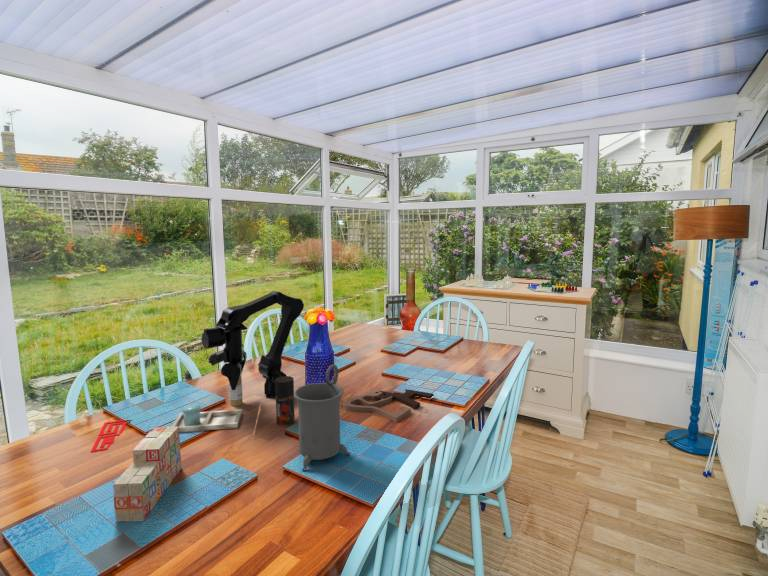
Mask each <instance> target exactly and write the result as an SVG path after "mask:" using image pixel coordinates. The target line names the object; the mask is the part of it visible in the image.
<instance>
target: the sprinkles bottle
mask: <svg viewBox="0 0 768 576" xmlns="http://www.w3.org/2000/svg"><path fill="white" fill-rule="evenodd" d="M242 376H243V371H242V372H241V375H240V377H239V380H238V383H237V386H236V389H235V390H232V389H231V386H230V383H229V382H228V384H229V385H228V386H229V387H228V389H229V401H230V402H229V405H230V406H231V407H238V406H242V405H243V384H242V383H243V381H242Z"/></svg>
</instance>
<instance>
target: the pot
mask: <svg viewBox="0 0 768 576" xmlns="http://www.w3.org/2000/svg"><path fill="white" fill-rule="evenodd" d="M181 410H182V412H183V413H184V426H193V425H199V424H200V412H201V405H200V404H198V403H197V404H196V403H193V404H187V405H185V406H183V407H182V408H181Z"/></svg>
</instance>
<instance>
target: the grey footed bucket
mask: <svg viewBox="0 0 768 576" xmlns="http://www.w3.org/2000/svg"><path fill="white" fill-rule="evenodd" d="M332 369H334V373H335V374H334V375H332V378H331V380H330V373H331V370H332ZM338 378H339V368H338V365H336V364H330V365H329V367H328V368H327V369H326V371H325V382H316V383H315V382H313V383H308V384H305V385H302V386H299V387H298V388H297V389H294V399H295V400H296V403H297V410H298V412H297V413H298V414H297V415H298V442H299V443H298V444H299V445H298V447H299V454H300V455H301V456H302V457H304V459H303V465H302V469H303V470H304V469H307V468H308V467H309V464H310V463H311V461H313V460H317V461H318V460H319V461H320V460H327V459H330V458H332V457H334V456H336V455H337V454H338V453H339V452H342V453H343V454H345V455H346V454H349V455H351V453H350V451H348V448H347V446H346V445H344V444H343V443H341V414H340V412H341V411H340V409H341V406H340V405H341V399H342V396H343V394H344V389H343V387H341V386H340V385H338V384H337V382H338ZM302 469H301V470H302ZM303 470H302V471H303Z"/></svg>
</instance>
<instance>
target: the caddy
mask: <svg viewBox="0 0 768 576" xmlns="http://www.w3.org/2000/svg"><path fill="white" fill-rule="evenodd" d="M242 410H243V409H242V408H240V409H239V408H238V409H228V410H227V409H226V410H225V409H224V410H214V411H213V410H212V411H210V410H209V411H200V424H199V425H193V426H184V412H183V413H179V414H178V415H177V417H176V419H175V420H174V422H173V423H172V424H171V426H170V427H179V433H188V432H200V431H215V430H226V429H227V430H229V429H237V428H238V426H239V425H240V424H239V423H240V420H241V417H242V415H243V412H242Z"/></svg>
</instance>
